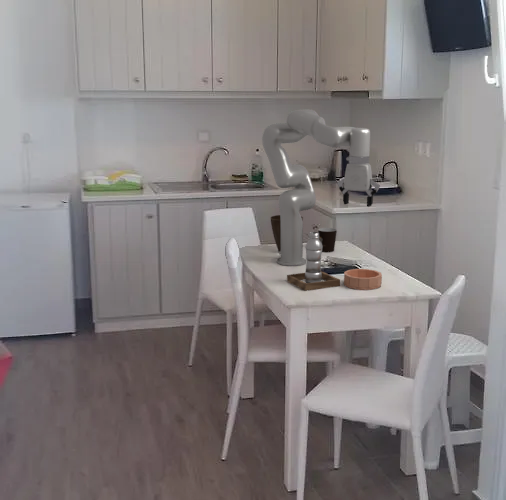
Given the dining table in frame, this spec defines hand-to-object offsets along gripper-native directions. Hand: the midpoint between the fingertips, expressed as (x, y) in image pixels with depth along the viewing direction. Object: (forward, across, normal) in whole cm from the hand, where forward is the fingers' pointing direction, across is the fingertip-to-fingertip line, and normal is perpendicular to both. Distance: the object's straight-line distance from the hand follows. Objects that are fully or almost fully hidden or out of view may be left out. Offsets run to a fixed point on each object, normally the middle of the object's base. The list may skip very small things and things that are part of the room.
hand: (357, 205), depth 271 cm
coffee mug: (+30, -31, +39) cm, 58 cm away
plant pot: (+30, -46, +27) cm, 61 cm away
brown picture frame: (+30, -11, -16) cm, 35 cm away
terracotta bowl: (+29, +6, -8) cm, 31 cm away
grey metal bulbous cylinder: (+30, -11, -16) cm, 35 cm away
